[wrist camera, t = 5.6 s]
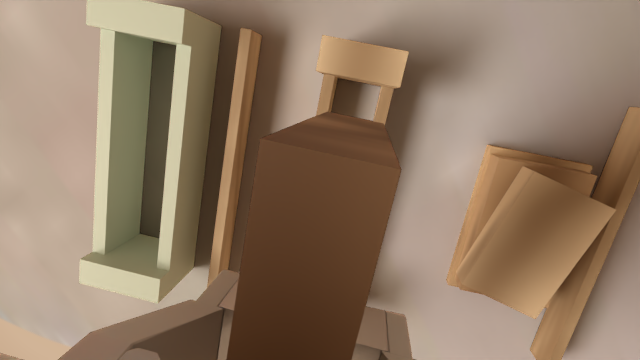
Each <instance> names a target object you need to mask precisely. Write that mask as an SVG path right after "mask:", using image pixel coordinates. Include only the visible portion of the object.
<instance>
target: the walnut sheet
mask: <svg viewBox="0 0 640 360" xmlns="http://www.w3.org/2000/svg"><path fill="white" fill-rule="evenodd" d="M400 173H401V167H400V165H399V162H398V159H397V157H396V154H395V152H394V149H393V146H392V144H391V141H390V139H389V136H388V133H387V131H386V128H385V126H384V123H379V122H375V121H370V120H365V119H360V118H356V117H351V116H346V115H341V114H337V113H332V112H325V113H322V114H320V115H317V116H315V117H312V118H310V119H307V120H305V121H302V122H300V123H297V124H295V125H292V126H290V127H287V128H285V129H282V130H280V131H278V132H275V133H273V134H270V135H268V136H265V137H263V138H260V142H259V149H258V156H257V162H256V169H255V175H254V182H253V188H252V195H251V201H250V208H249V214H248V221H247V228H246V234H245V241H244V247H243V254H242V260H241V267H240V273H239V280H238V286H237V293H236V300H235V306H234V313H233V319H232V326H231V332H230V339H229V345H228V352H227V358H226V360H352V356H353V352H354V349H355V345H356V341H357V337H358V333H359V329H360V326H361V322H362V318H363V314H364V310H365V307H366V303H367V299H368V295H369V291H370V288H371V284H372V280H373V276H374V272H375V269H376V265H377V261H378V257H379V253H380V249H381V246H382V242H383V238H384V234H385V230H386V227H387V223H388V219H389V215H390V211H391V208H392V204H393V200H394V196H395V192H396V188H397V185H398V181H399V177H400Z"/></svg>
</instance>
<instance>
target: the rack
mask: <svg viewBox="0 0 640 360" xmlns="http://www.w3.org/2000/svg"><path fill="white" fill-rule="evenodd" d="M261 39H262V35H260V34H258V33H256V32H254V31H253V30H250V29H245V28H241V30H240V37H239V45H238V53H237V60H236V68H235V76H234V84H233V91H232V99H231V107H230V115H229V122H228V130H227V138H226V145H225V153H224V161H223V169H222V176H221V184H220V192H219V199H218V207H217V215H216V223H215V230H214V238H213V246H212V254H211V261H210V269H209V277H208V284H207V288H208V287H209V285H210V284H211V283H212V282H213V281H214V279H215V278H216V277H217V276H218V275H219V274H220V272H221V271H222V270H228V267H229V260H230V253H231V246H232V239H233V233H234V226H235V219H236V212H237V205H238V198H239V191H240V184H241V177H242V170H243V163H244V156H245V149H246V142H247V136H248V129H249V122H250V115H251V108H252V101H253V94H254V87H255V80H256V73H257V66H258V59H259V52H260V45H261ZM408 53H409V52H408V51H403V50H398V49H393V48H388V47H382V46H377V45H372V44H367V43H362V42H356V41H351V40H346V39H341V38H336V37H330V36H325V35H322V41H321V46H320V52H319V57H318V63H317V68H316V71H318V72H320V73H322V74H324V77H323V82H322V87H321V93H320V98H319V103H318V108H317V114H316V116H317V115H320V114H322V113H325V112H331V109H332V104H333V99H334V94H335V89H336V84H337V79H338V78H341V79H346V80H351V81H356V82H361V83H366V84H371V85H376V86H381V90H380V94H379V98H378V102H377V107H376V111H375V115H374V120H373V121H375V122H379V123H384V126H385V123H386V119H387V114H388V110H389V106H390V102H391V98H392V94H393V90H394V89H395V88H400V86H401V81H402V77H403V73H404V69H405V65H406V61H407V57H408ZM639 181H640V108H637V107H629V108H628V111H627V113H626V116H625V118H624V120H623V123H622V125H621V128H620V130H619V133H618V135H617V138H616V140H615V142H614V145H613V147H612V150H611V152H610V155H609V157H608V160H607V162H606V165H605V167H604V169H603V172H602V174H601V177H600V179H599V182H598V184H597V187H596V189H595V191H594V194H593V196H592V198H593V199H595V200H597V201H599V202H601V203H603V204H605V205H607V206H609V207H612V208H614V209H616V211H615V213H614V214H613V215H612V217H611V218H610V219H609V221H608V222H607V223H606V225H605V226H604V227H603V229H602V230H601V231H600V233H599V234H598V235H597V237H596V238H595V240H594V241H593V242H592V244H591V245H590V246H589V248H588V249H587V250H586V252H585V253H584V254H583V256H582V257H581V258H580V260H579V261H578V262H577V264H576V265H575V266H574V268H573V269H572V270H571V272H570V273H569V275H568V276H567V277H566V279H565V280H564V281H563V283H562V284H561V285H560V287H559V288H558V289H557V291H556V292H555V293H554V295H553V296H552V298H551V301H550V303H549V306H548V308H547V309H546V311H545V314H544V316H543V319H542V321H541V324H540V326H539V328H538V331H537V333H536V336H535V338H534V341H533V343H532V346H531V348H530V351H531V352H532V354H533V355H534V357H535V358H536V360H561V359H562V357H563V354H564V352H565V350H566V347H567V345H568V343H569V341H570V338H571V336H572V334H573V332H574V329H575V327H576V325H577V322H578V320H579V318H580V316H581V313H582V311H583V309H584V306H585V304H586V302H587V300H588V297H589V295H590V293H591V291H592V288H593V286H594V284H595V281H596V279H597V277H598V275H599V272H600V270H601V268H602V265H603V263H604V261H605V259H606V256H607V254H608V252H609V250H610V247H611V245H612V243H613V240H614V238H615V236H616V234H617V231H618V229H619V227H620V224H621V222H622V220H623V218H624V215H625V213H626V211H627V209H628V206H629V204H630V202H631V199H632V197H633V195H634V193H635V190H636V188H637V186H638V183H639Z"/></svg>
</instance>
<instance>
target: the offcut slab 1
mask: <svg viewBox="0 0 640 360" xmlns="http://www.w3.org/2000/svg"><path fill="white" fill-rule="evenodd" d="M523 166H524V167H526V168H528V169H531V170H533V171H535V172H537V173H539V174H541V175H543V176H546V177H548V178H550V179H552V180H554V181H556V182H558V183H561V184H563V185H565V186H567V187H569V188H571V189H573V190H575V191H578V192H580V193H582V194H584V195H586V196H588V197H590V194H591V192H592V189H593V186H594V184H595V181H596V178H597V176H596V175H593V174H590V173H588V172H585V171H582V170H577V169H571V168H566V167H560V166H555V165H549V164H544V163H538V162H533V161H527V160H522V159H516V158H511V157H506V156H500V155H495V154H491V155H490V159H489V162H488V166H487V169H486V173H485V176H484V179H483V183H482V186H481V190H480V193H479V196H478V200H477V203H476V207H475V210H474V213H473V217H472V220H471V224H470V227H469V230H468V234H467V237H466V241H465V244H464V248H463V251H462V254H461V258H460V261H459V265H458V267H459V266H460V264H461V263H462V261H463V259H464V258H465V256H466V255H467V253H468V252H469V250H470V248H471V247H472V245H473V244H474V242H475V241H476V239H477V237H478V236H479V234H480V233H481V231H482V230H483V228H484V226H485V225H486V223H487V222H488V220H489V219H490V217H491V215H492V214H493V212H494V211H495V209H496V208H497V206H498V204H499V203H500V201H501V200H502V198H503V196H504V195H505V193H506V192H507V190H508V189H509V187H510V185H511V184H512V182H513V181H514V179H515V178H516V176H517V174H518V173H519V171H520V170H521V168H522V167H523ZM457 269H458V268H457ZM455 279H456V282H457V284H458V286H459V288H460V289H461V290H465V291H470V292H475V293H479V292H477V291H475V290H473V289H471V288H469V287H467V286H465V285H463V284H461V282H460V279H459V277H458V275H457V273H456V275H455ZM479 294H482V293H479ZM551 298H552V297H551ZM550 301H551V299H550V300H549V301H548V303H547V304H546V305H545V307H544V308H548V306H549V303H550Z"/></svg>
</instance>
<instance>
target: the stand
mask: <svg viewBox="0 0 640 360" xmlns="http://www.w3.org/2000/svg"><path fill="white" fill-rule="evenodd" d="M86 25H89V26H93V27H97V28H101V32H100V59H99V86H98V114H97V141H96V169H95V196H94V224H93V251H92V253H90V254H88V255H86V256H85V257H83V258H81V259H80V274H79V283H81V284H84V285H88V286H92V287H96V288H100V289H104V290H108V291H112V292H115V293H119V294H123V295H127V296H131V297H135V298H139V299H143V300H147V301H150V302H154V303H159V302H160V301H161V300H162V299H163V298H164V297H165V296H166V295H167V294H168V293H169V292H170V291H171V290H172V289H173V288H174V287H175V286H176V285H177V284H178V283H179V282H180V281H181V280H182V279H183V278H184V277H185V276H186V275H187V274H188V273H189V272H190V271H191V270H192V269H193V268H194V259H195V251H196V242H197V234H198V225H199V217H200V208H201V200H202V191H203V182H204V174H205V165H206V157H207V148H208V140H209V131H210V122H211V114H212V105H213V97H214V88H215V80H216V71H217V62H218V54H219V45H220V37H221V28H222V26H221V25H218V24H216V23H214V22H212V21H210V20H208V19H206V18H204V17H202V16H199V15H197V14H195V13H193V12H191V11H189V10H187V9H184V8H179V7H174V6H169V5H164V4H158V3H153V2H148V1H143V0H87V13H86ZM153 41H156V42H161V43H166V44H171V45H176V56H175V67H174V78H173V90H172V101H171V113H170V124H169V135H168V147H167V158H166V169H165V181H164V192H163V204H162V215H161V226H160V238H156V237H151V236H147V235H143V234H140V220H141V206H142V192H143V178H144V164H145V150H146V137H147V123H148V109H149V95H150V81H151V67H152V53H153Z"/></svg>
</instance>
